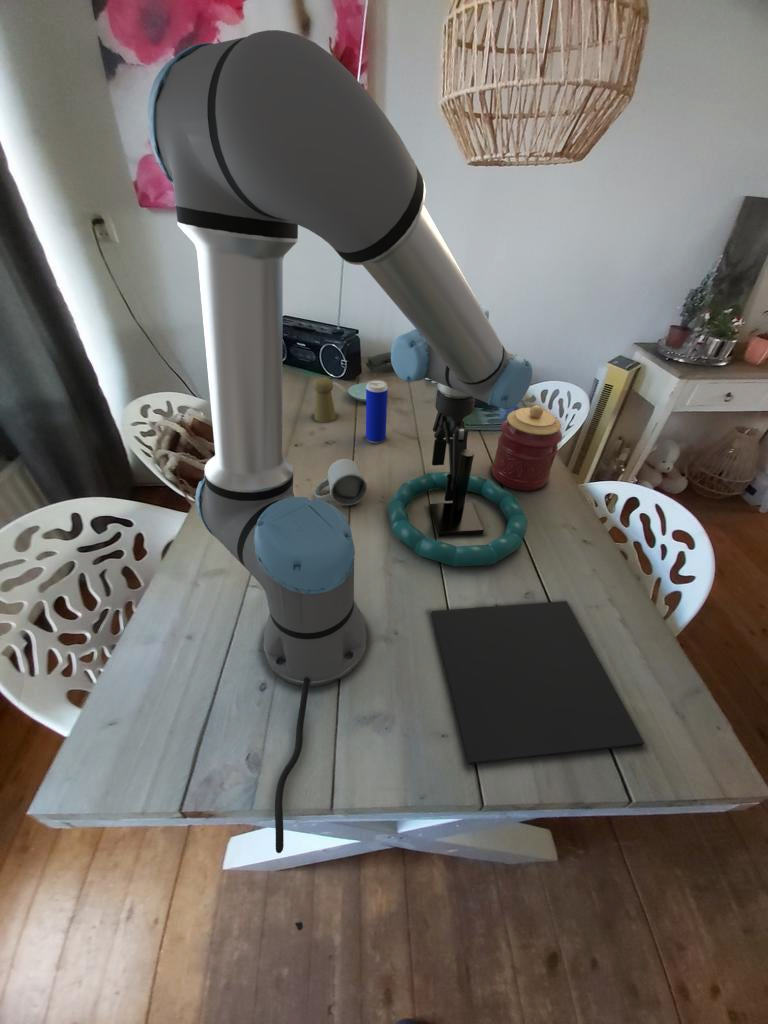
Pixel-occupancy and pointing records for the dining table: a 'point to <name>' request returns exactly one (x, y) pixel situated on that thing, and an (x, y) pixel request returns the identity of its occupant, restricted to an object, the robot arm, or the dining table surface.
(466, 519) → the stand
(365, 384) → the saucer
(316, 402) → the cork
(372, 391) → the beverage can
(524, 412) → the kitchen canister
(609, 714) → the mat
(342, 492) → the ceramic mug
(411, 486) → the hoop
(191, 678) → the dining table surface
